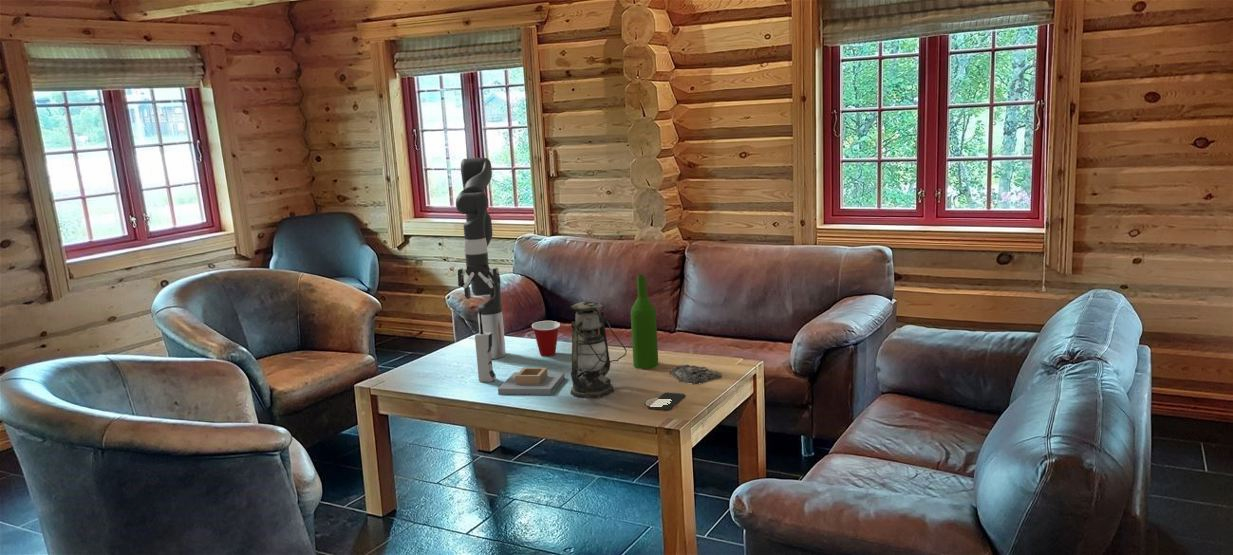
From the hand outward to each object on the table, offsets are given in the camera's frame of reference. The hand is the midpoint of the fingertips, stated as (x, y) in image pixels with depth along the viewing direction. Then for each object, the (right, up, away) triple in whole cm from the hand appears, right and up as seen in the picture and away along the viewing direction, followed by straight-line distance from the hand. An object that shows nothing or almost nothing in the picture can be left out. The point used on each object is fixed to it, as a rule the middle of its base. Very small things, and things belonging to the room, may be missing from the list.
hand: (480, 298), depth 304 cm
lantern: (+40, -30, -14) cm, 53 cm away
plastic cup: (+21, -22, +34) cm, 45 cm away
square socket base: (+18, -29, -4) cm, 35 cm away
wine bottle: (+57, -24, +12) cm, 63 cm away
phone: (+62, -32, -28) cm, 75 cm away
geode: (+72, -27, -4) cm, 77 cm away
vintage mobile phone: (+2, -29, +5) cm, 29 cm away
